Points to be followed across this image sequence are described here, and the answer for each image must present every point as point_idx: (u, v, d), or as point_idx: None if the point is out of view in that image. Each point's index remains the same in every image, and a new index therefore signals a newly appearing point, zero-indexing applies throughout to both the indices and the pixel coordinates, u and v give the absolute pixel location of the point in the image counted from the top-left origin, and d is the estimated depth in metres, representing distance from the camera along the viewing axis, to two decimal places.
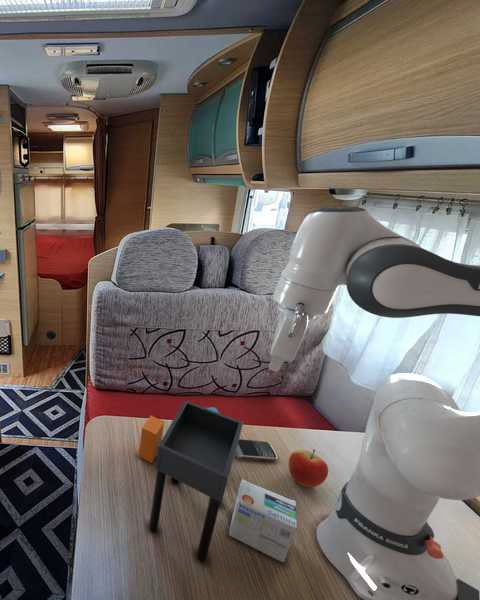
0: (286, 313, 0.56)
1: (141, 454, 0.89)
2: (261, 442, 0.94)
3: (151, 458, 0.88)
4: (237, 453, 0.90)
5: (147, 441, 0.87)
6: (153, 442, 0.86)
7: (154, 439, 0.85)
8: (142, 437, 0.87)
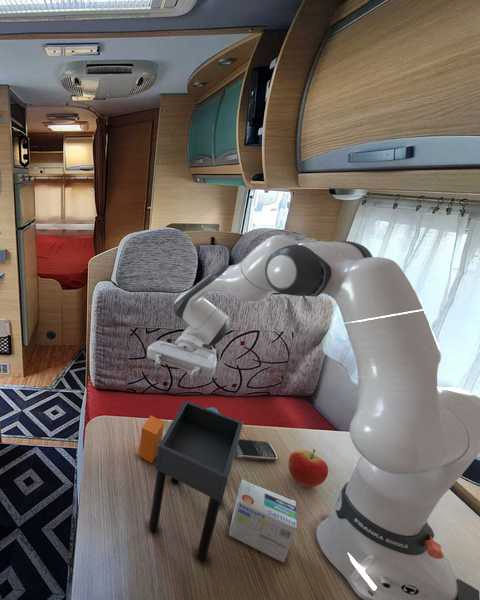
0: None
1: (141, 454, 0.89)
2: (261, 442, 0.94)
3: (151, 458, 0.88)
4: (237, 453, 0.90)
5: (147, 441, 0.87)
6: (153, 442, 0.86)
7: (154, 439, 0.85)
8: (142, 437, 0.87)
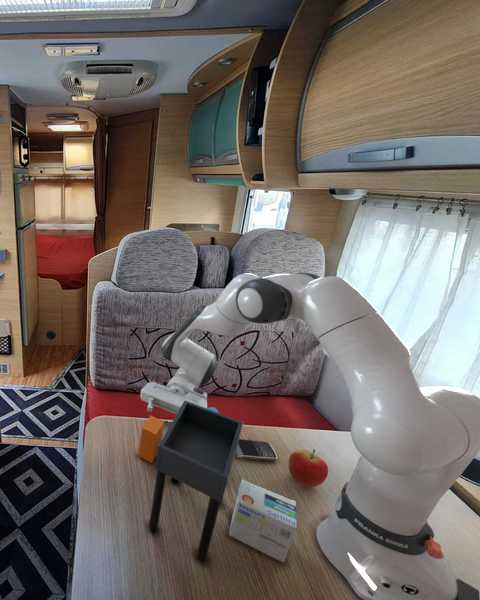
0: None
1: (141, 454, 0.89)
2: (261, 442, 0.94)
3: (151, 458, 0.88)
4: (237, 453, 0.90)
5: (147, 441, 0.87)
6: (153, 442, 0.86)
7: (154, 439, 0.85)
8: (142, 437, 0.87)
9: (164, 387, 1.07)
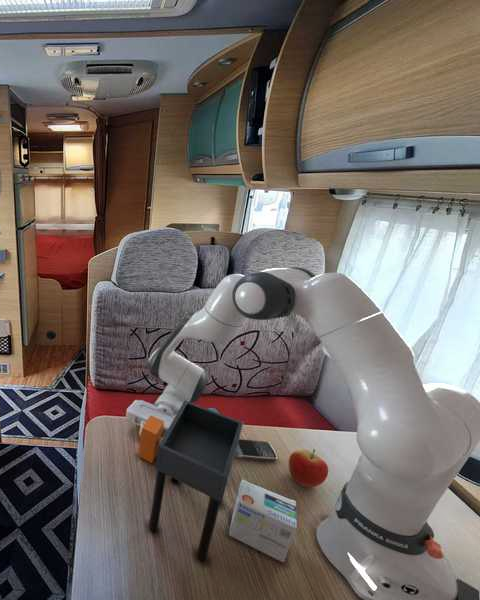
0: None
1: (141, 454, 0.89)
2: (261, 442, 0.94)
3: (151, 458, 0.88)
4: (237, 453, 0.90)
5: (147, 441, 0.87)
6: (153, 442, 0.86)
7: (154, 439, 0.85)
8: (142, 437, 0.87)
9: (152, 406, 0.99)
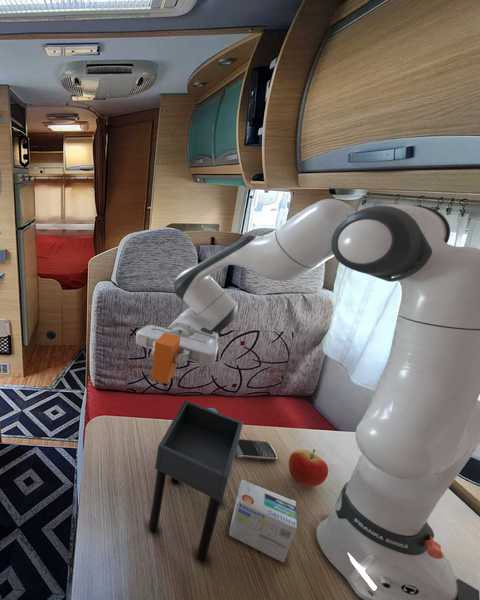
0: None
1: (154, 375, 0.78)
2: (261, 442, 0.94)
3: (166, 378, 0.76)
4: (237, 453, 0.90)
5: (161, 357, 0.75)
6: (168, 357, 0.74)
7: (170, 353, 0.74)
8: (155, 353, 0.76)
9: (165, 329, 0.87)
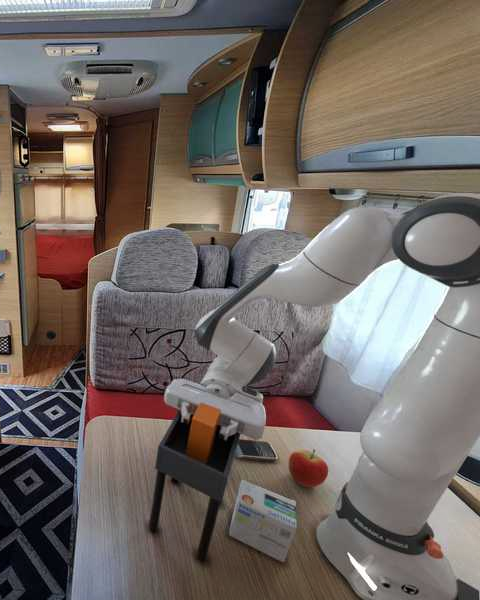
0: None
1: (189, 454, 0.66)
2: (261, 442, 0.94)
3: (204, 460, 0.64)
4: (237, 453, 0.90)
5: (199, 436, 0.63)
6: (208, 438, 0.62)
7: (210, 434, 0.62)
8: (192, 431, 0.64)
9: (198, 386, 0.75)
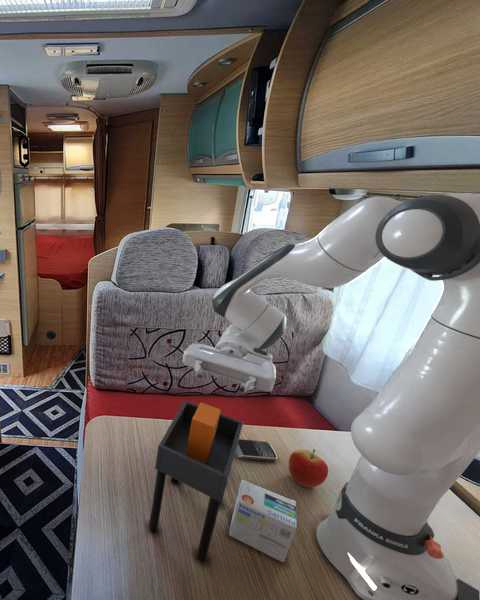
0: None
1: (189, 454, 0.66)
2: (261, 442, 0.94)
3: (204, 460, 0.64)
4: (237, 453, 0.90)
5: (199, 436, 0.63)
6: (208, 438, 0.62)
7: (210, 434, 0.62)
8: (192, 431, 0.64)
9: (213, 348, 0.82)
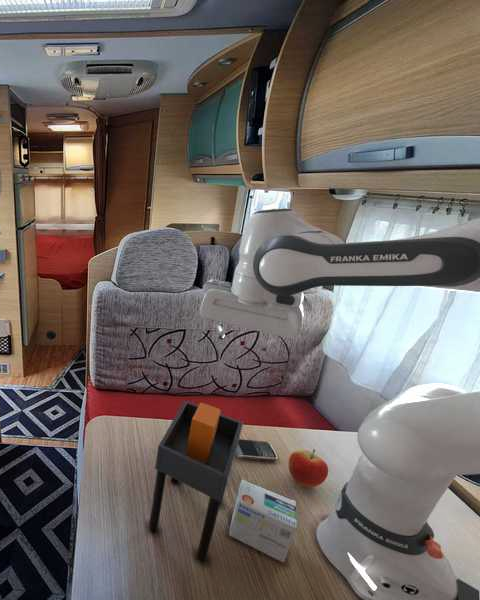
0: None
1: (189, 454, 0.66)
2: (261, 442, 0.94)
3: (204, 460, 0.64)
4: (237, 453, 0.90)
5: (199, 436, 0.63)
6: (208, 438, 0.62)
7: (210, 434, 0.62)
8: (192, 431, 0.64)
9: (229, 297, 0.71)
